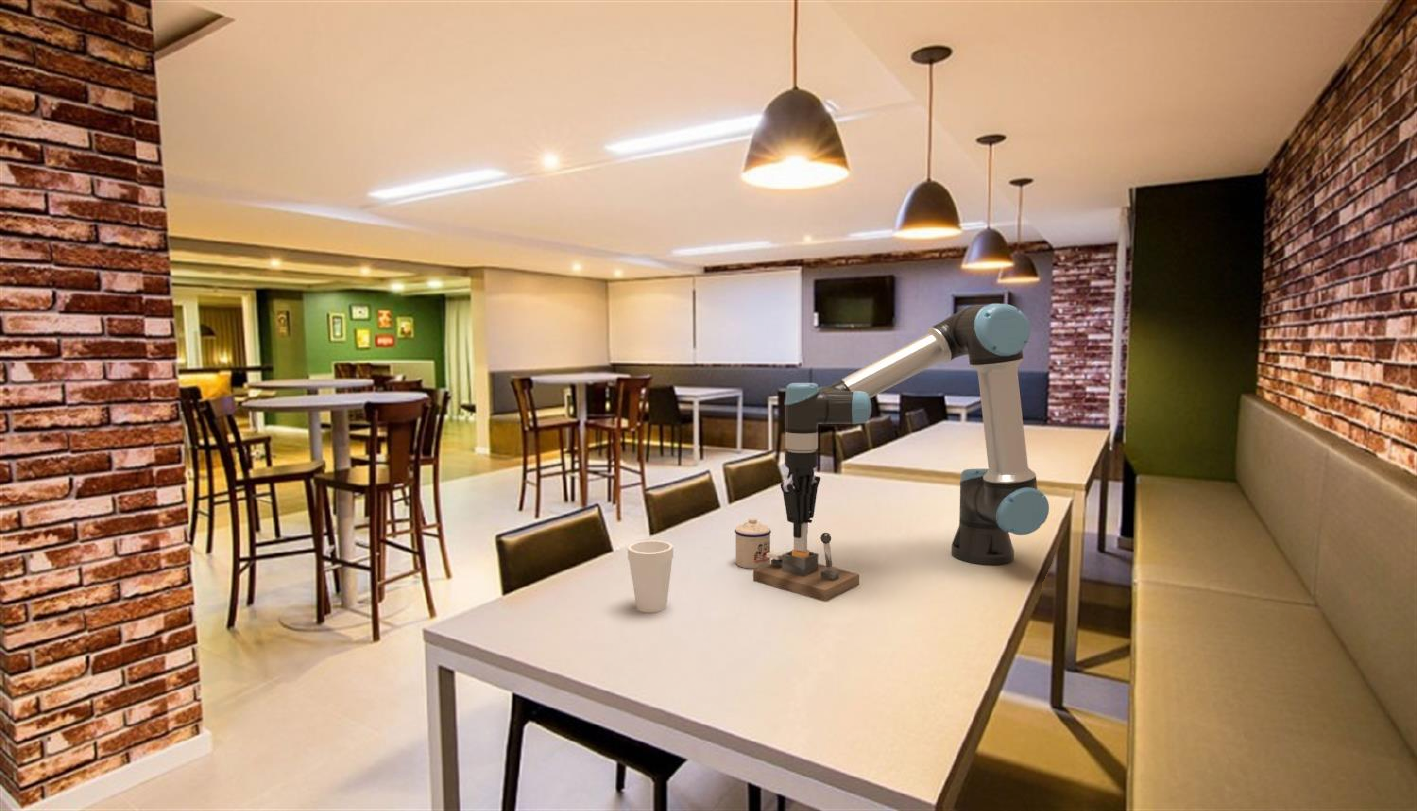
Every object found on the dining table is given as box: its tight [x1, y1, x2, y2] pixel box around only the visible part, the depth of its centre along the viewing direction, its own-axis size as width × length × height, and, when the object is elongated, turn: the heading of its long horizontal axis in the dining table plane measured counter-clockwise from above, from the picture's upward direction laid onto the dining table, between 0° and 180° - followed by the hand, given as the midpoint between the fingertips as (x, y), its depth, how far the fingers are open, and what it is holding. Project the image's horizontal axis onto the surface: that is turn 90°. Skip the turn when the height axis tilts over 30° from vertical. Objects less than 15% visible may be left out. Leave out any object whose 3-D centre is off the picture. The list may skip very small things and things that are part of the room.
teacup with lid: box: [734, 517, 772, 570], centre depth 175 cm, size 12×9×12 cm
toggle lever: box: [819, 532, 833, 569], centre depth 154 cm, size 2×2×9 cm
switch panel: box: [752, 550, 860, 603], centre depth 160 cm, size 20×14×6 cm
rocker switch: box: [766, 551, 787, 560], centre depth 165 cm, size 3×6×1 cm, turn 138°
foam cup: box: [627, 540, 674, 614], centre depth 145 cm, size 10×9×13 cm
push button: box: [791, 548, 810, 558], centre depth 161 cm, size 4×4×3 cm
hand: (800, 550), depth 161 cm, fingers closed
